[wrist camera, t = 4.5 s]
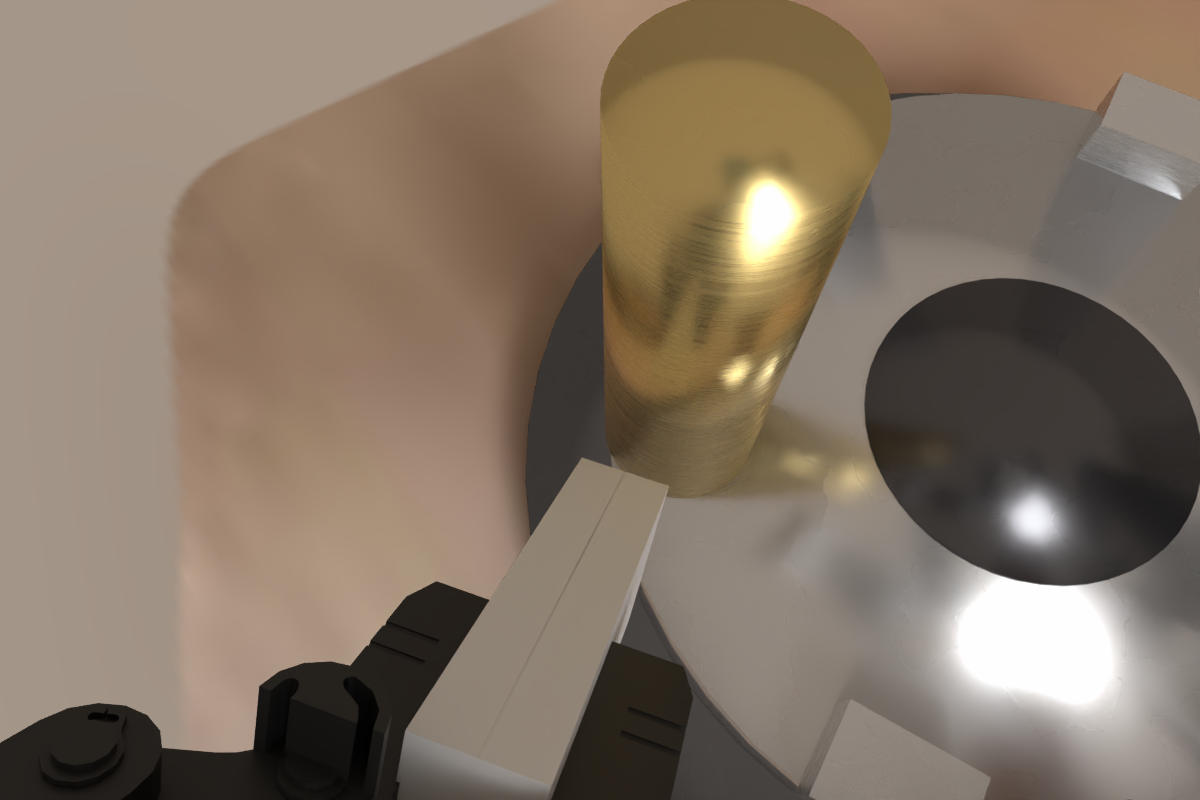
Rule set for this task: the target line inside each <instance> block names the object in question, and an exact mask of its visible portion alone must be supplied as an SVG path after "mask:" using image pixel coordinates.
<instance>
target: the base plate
mask: <svg viewBox="0 0 1200 800" xmlns="http://www.w3.org/2000/svg"><path fill="white" fill-rule="evenodd" d="M927 95H943V94H912V93H902V94H892V95H890V99H891V100H896V99H901V98H907V97H913V96H927ZM581 458H585V459H588V460H591V461H594V462H597V463H600V464H603V465H606V466H609V467H610V451H609V448H608V445H607V440H606V435H605V399H604V328H603V257H602V243H601V244H600V246H599V247H598V249H597V250H596V252H595V253H594V254H593V256H592V257H591V259H590V260H589V262H588V263H587V264H586V266H585V267H584V269H583V270H582V272H581V273H580V274H579V276H578V278H577V280H576V282H575V284H574V286H573V288H572V290H571V292H570V294H569V296H568V298H567V300H566V301H565V303H564V305H563V307H562V309H561V311H560V313H559V315H558V317H557V319H556V321H555V324H554V327H553V330H552V333H551V336H550V339H549V342H548V345H547V348H546V351H545V353H544V356H543V359H542V362H541V365H540V368H539V371H538V377H537V382H536V387H535V392H534V398H533V403H532V408H531V413H530V419H529V424H528V444H527V465H526V489H527V501H528V512H529V524H530V535H532V534H533V532H534V531H535V529H536V528H537V526H538V525H539V523H540V521H541V520H542V518H543V517H544V515H545V514H546V512H547V511H548V509H549V508H550V506H551V504H552V503H553V501H554V500H555V498H556V497H557V495H558V494H559V492H560V491H561V489H562V487H563V486H564V484H565V483H566V481H567V480H568V478H569V477H570V475H571V474H572V472H573V470H574V469H575V467H576V466H577V464H578V463H579V461H580V460H581ZM620 644H622V645H625V646H628V647H630V648H633V649H636V650H639V651H642V652H645V653H647V654H650V655H653V656H656V657H659V658H661V659H664V660H667V661H670V662H673V661H672V660H671V658H670V657H669V655H668V654H667V652H666V650H665V648H664V646H663V644H662V642H661V640H660V638H659V636H658V634H657V632H656V631H655V629H654V627H653V625H652V623H651V621H650V619H649V617H648V615H647V613H646V611H645V609H644V607H643V605H642V603H641V600H640V597H639V594H638V592H637V595H636V598H635V601H634V605H633V608H632V611H631V615H630V618H629V621H628V624H627V627H626V629H625V632H624V635H623V637H622V640H621V643H620ZM690 689H691V687H690ZM691 692H692V695H693V701H692V705H691V710H690V714H689V719H688V723H687V728H686V731H685V737H684V741H683V746H682V750H681V754H680V760H679V764H678V769H677V773H676V778H675V782H674V787H673V791H672V796H671V800H805V799H803V798H802V797H800V796H798V795H797V794H795V792H793V791H792V790H790V789H789V788H787V787H786V786H785V785H783V784H782V783H781V782H780V781H779V780H778V779H777V778H775V777H774V776H773V775H772V774H771V773H770V772H769V771H768V770H766V769H765V768H764V767H763V766H762V765H761V764H760V763H758V762H757V761H756V760H755V759H754V758H753V757H752V756H750V755H749V754H748V753H747V752H746V751H745V750H744V749H743V748H741V747H740V746H739V745H738V744H737V742H736V741H735V740H734V739H733V738H732V737H731V736H730V735H729V733H728V732H727V731H726V730H725V729H724V728H723V727H722V726H721V724H720V723H719V722H718V721H717V720H716V719H715V718H714V716H713V715H712V714H711V713H710V712H709V711H708V710H707V709H706V707H705V706H704V705H703V704H702V703H701V702H700V700H699V699H698V698H697V696H696V695H695V693H694V692H693V690H692V689H691Z"/></svg>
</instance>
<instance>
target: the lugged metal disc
mask: <svg viewBox="0 0 1200 800" xmlns="http://www.w3.org/2000/svg"><path fill="white" fill-rule="evenodd" d="M600 115H601V186H602V257H603V328H604V399H605V435H606V440H607V445H608V448H609V451H610V467H612V468H615V469H618V470H621V471H625V472H628V473H631V474H634V475H637V476H640V477H643V478H646V479H649V480H652V481H655V482H658V483H661V484H664V485H667V486H669V488H668V491H667V494H666V498H665V501H664V504H663V508H662V511H661V514H660V518H659V521H658V524H657V528H656V531H655V534H654V538H653V541H652V545H651V548H650V551H649V555H648V558H647V561H646V565H645V568H644V571H643V575H642V578H641V581H640V585H639V588H638V591H637V592H638V594H639V597H640V600H641V603H642V605H643V607H644V609H645V611H646V613H647V615H648V617H649V619H650V621H651V623H652V625H653V627H654V629H655V631H656V632H657V634H658V636H659V638H660V640H661V642H662V644H663V646H664V648H665V650H666V652H667V654H668V655H669V657H670V658H671V660H672V661H673V663H676V664H678V665H681V666H684V669H685V672H686V676H687V679H688V682H689V685H690V687H691V689H692V690H693V692H694V693H695V695H696V696H697V698H698V699H699V700H700V702H701V703H702V704H703V705H704V706H705V707H706V709H707V710H708V711H709V712H710V713H711V714H712V715H713V716H714V718H715V719H716V720H717V721H718V722H719V723H720V724H721V726H722V727H723V728H724V729H725V730H726V731H727V732H728V733H729V735H730V736H731V737H732V738H733V739H734V740H735V741H736V742H737V744H738V745H739V746H740V747H741V748H743V749H744V750H745V751H746V752H747V753H748V754H749V755H750V756H752V757H753V758H754V759H755V760H756V761H757V762H758V763H760V764H761V765H762V766H763V767H764V768H765V769H766V770H768V771H769V772H770V773H771V774H772V775H773V776H774V777H775V778H777V779H778V780H779V781H780V782H781V783H782V784H783V785H785V786H786V787H787V788H789V789H790V790H792V791H793V792H795V794H797V795H798V796H800V797H802V798H803V799H805V800H1200V100H1197V99H1195V98H1192V97H1189V96H1187V95H1184V94H1182V93H1179V92H1176V91H1174V90H1171V89H1169V88H1166V87H1163V86H1161V85H1158V84H1155V83H1153V82H1150V81H1148V80H1145V79H1142V78H1140V77H1137V76H1134V75H1132V74H1129V73H1127V72H1123V74H1122V75H1121V76H1120V78H1119V79H1118V80H1117V82H1116V83H1115V85H1114V86H1113V87H1112V89H1111V90H1110V91H1109V93H1108V94H1107V95H1106V97H1105V98H1104V99H1103V101H1102V102H1101V104H1100V105H1099V106H1098V108H1097V111H1096V112H1094V111H1090V110H1086V109H1082V108H1077V107H1073V106H1069V105H1065V104H1061V103H1056V102H1051V101H1044V100H1037V99H1030V98H1022V97H1015V96H1008V95H987V94H961V93H958V94H943V95H927V96H913V97H907V98H901V99H896V100H891V99H890V95H889V91H888V87H887V84H886V82H885V79H884V77H883V75H882V72H881V70H880V68H879V67H878V65H877V63H876V62H875V60H874V59H873V57H872V56H871V54H870V53H869V52H868V51H867V49H866V48H865V47H864V46H863V45H862V44H861V43H860V42H859V41H858V40H857V39H856V38H855V37H854V36H853V35H852V34H851V33H850V32H849V31H847V30H846V29H845V28H843V27H842V26H841V25H839V24H838V23H837V22H835V21H833V20H832V19H830V18H828V17H826V16H825V15H823V14H821V13H819V12H817V11H815V10H813V9H810V8H808V7H806V6H803V5H800V4H797V3H794V2H791V1H788V0H690V1H686V2H683V3H680V4H678V5H675V6H672V7H670V8H668V9H666V10H664V11H662V12H660V13H658V14H656V15H654V16H653V17H651V18H650V19H648V20H647V21H645V22H644V23H642V24H641V25H640V26H639V27H638V28H636V29H635V30H634V31H633V32H632V33H631V34H630V35H629V36H628V37H627V38H626V39H625V40H624V42H623V43H622V44H621V45H620V46H619V48H618V49H617V51H616V52H615V54H614V56H613V57H612V59H611V61H610V63H609V65H608V68H607V70H606V73H605V76H604V80H603V84H602V88H601V101H600Z"/></svg>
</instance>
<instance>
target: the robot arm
mask: <svg viewBox="0 0 1200 800" xmlns="http://www.w3.org/2000/svg"><path fill="white" fill-rule="evenodd" d="M668 488H669V486H667V485H664V484H661V483H658V482H655V481H652V480H649V479H646V478H643V477H640V476H637V475H634V474H631V473H628V472H625V471H621V470H618V469H615V468H612V467H609V466H606V465H603V464H600V463H597V462H594V461H591V460H588V459H585V458H581V460H580V461H579V463H578V464H577V466H576V467H575V469H574V470H573V472H572V474H571V475H570V477H569V478H568V480H567V481H566V483H565V484H564V486H563V487H562V489H561V491H560V492H559V494H558V495H557V497H556V498H555V500H554V501H553V503H552V504H551V506H550V508H549V509H548V511H547V512H546V514H545V515H544V517H543V518H542V520H541V521H540V523H539V525H538V526H537V528H536V529H535V531H534V532H533V534H532V535H531V537H530V539H529V540H528V542H527V543H526V545H525V546H524V548H523V549H522V551H521V552H520V554H519V556H518V557H517V559H516V560H515V562H514V563H513V565H512V566H511V568H510V569H509V571H508V573H507V574H506V576H505V577H504V579H503V580H502V582H501V583H500V585H499V586H498V588H497V590H496V591H495V593H494V594H493V596H492V597H491V599H490V600H488V599H485V598H482V597H479V596H476V595H474V594H471V593H468V592H465V591H462V590H460V589H457V588H454V587H451V586H448V585H445V584H443V583H440V582H437V581H436V582H434V583H432V584H430V585H428V586H427V587H425V588H423V589H421V590H419V591H417V592H415V593H413V594H411V595H409V596H407V597H406V598H405V599H404V600H403V601H402V603H401V604H400V605H399V606H398V608H397V609H396V610H395V611H394V612H393V614H392V615H391V616H390V617H389V619H388V620H387V622H386V625H385V626H382V627H381V629H380V630H379V631H378V632H377V633H376V635H375V636H374V637H373V638H372V640H371V642H370V644H369V646H366V647H365V648H364V650H363V651H362V652H361V653H360V654H359V656H358V657H357V658H356V659H355V661H354V662H353V663H352V664H351V666H349V665H344V664H339V663H335V662H315V663H303V664H300V665H297V666H294V667H291V668H288V669H285V670H282V671H279V672H278V673H277V674H275V675H274V676H272V677H271V678H270V679H268V680H267V681H266V682H264V683H263V684H262V685H260V686H259V696H258V707H257V717H256V728H255V739H254V749H253V750H248V751H243V752H237V753H214V752H202V751H191V750H179V749H168V748H167V749H166V748H162V745H161V736H160V730H159V729H158V728H157V727H156V725H155V724H154V723H153V722H152V720H151V719H150V718H149V717H148V716H147V715H145V714H143V713H141V712H139V711H136V710H134V709H132V708H130V707H127V706H123V705H112V704H100V703H97V704H91V705H85V706H79V707H73V708H68V709H65V710H63V711H61V712H58V713H56V714H53V715H51V716H49V717H47V718H44V719H42V720H39V721H38V722H36V723H34V724H32V725H31V726H29V727H27V728H25V729H24V730H22V731H20V732H18V733H17V734H15V735H13V736H11V737H10V738H8V739H6V740H4V741H3V742H1V743H0V800H671V796H672V791H673V787H674V782H675V778H676V773H677V769H678V764H679V760H680V754H681V750H682V746H683V741H684V737H685V731H686V728H687V723H688V719H689V714H690V710H691V705H692V701H693V695H692V692H691V689H690V685H689V682H688V679H687V676H686V672H685V669H684V666H681V665H678V664H676V663H673V662H670V661H667V660H664V659H661V658H659V657H656V656H653V655H650V654H647V653H645V652H642V651H639V650H636V649H633V648H630V647H628V646H625V645H622V644H620V643H621V640H622V637H623V635H624V632H625V629H626V627H627V624H628V621H629V618H630V615H631V611H632V608H633V605H634V601H635V598H636V595H637V591H638V588H639V585H640V581H641V578H642V575H643V571H644V568H645V565H646V561H647V558H648V555H649V551H650V548H651V545H652V541H653V538H654V534H655V531H656V528H657V524H658V521H659V518H660V514H661V511H662V508H663V504H664V501H665V498H666V494H667V491H668Z"/></svg>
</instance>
